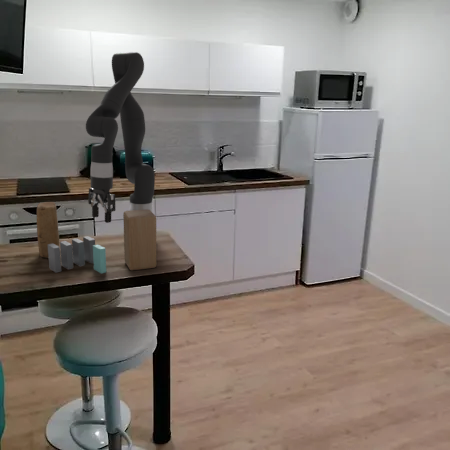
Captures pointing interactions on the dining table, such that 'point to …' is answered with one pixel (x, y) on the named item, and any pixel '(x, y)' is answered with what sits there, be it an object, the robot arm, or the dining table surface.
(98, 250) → the domino
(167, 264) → the dining table surface
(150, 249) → the wooden block
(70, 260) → the domino
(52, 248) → the domino
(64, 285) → the dining table surface
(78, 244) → the domino
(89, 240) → the domino
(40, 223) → the block
